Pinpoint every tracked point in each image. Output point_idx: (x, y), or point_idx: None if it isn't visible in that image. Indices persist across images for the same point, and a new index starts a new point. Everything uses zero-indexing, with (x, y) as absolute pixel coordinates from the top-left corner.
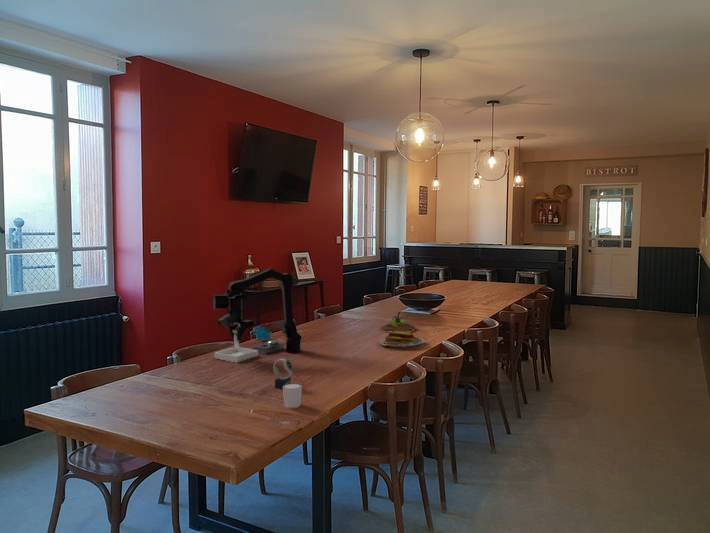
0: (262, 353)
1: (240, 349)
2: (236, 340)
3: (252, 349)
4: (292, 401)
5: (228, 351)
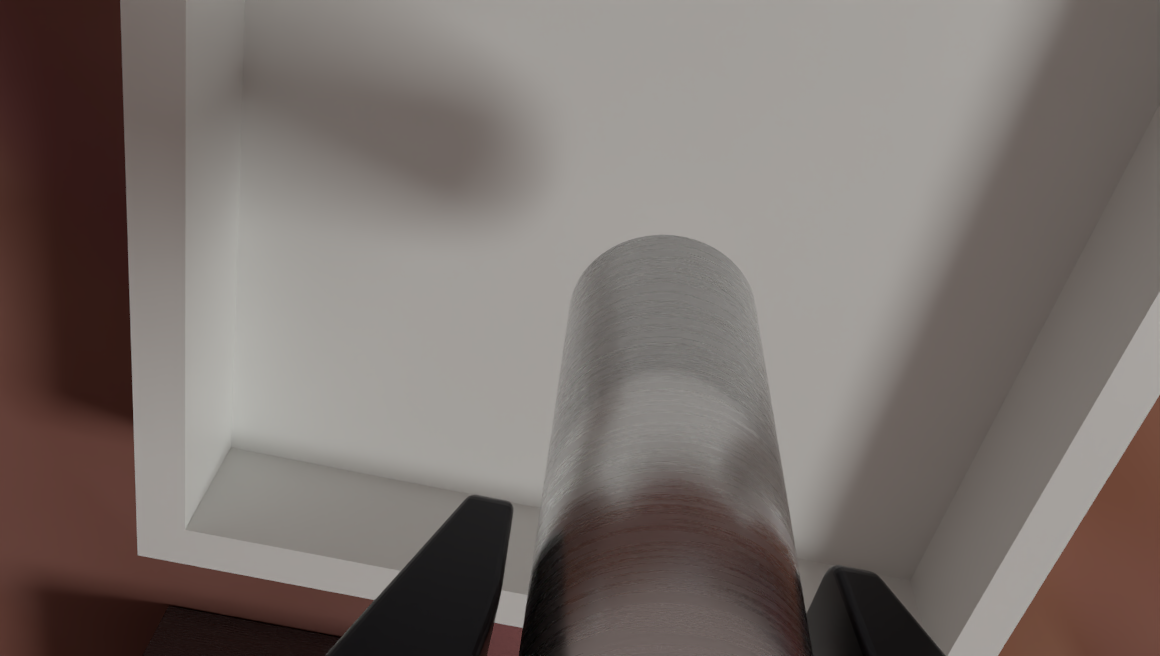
0: (261, 633)
1: None
2: (589, 487)
3: (344, 587)
4: None
5: (1048, 395)
